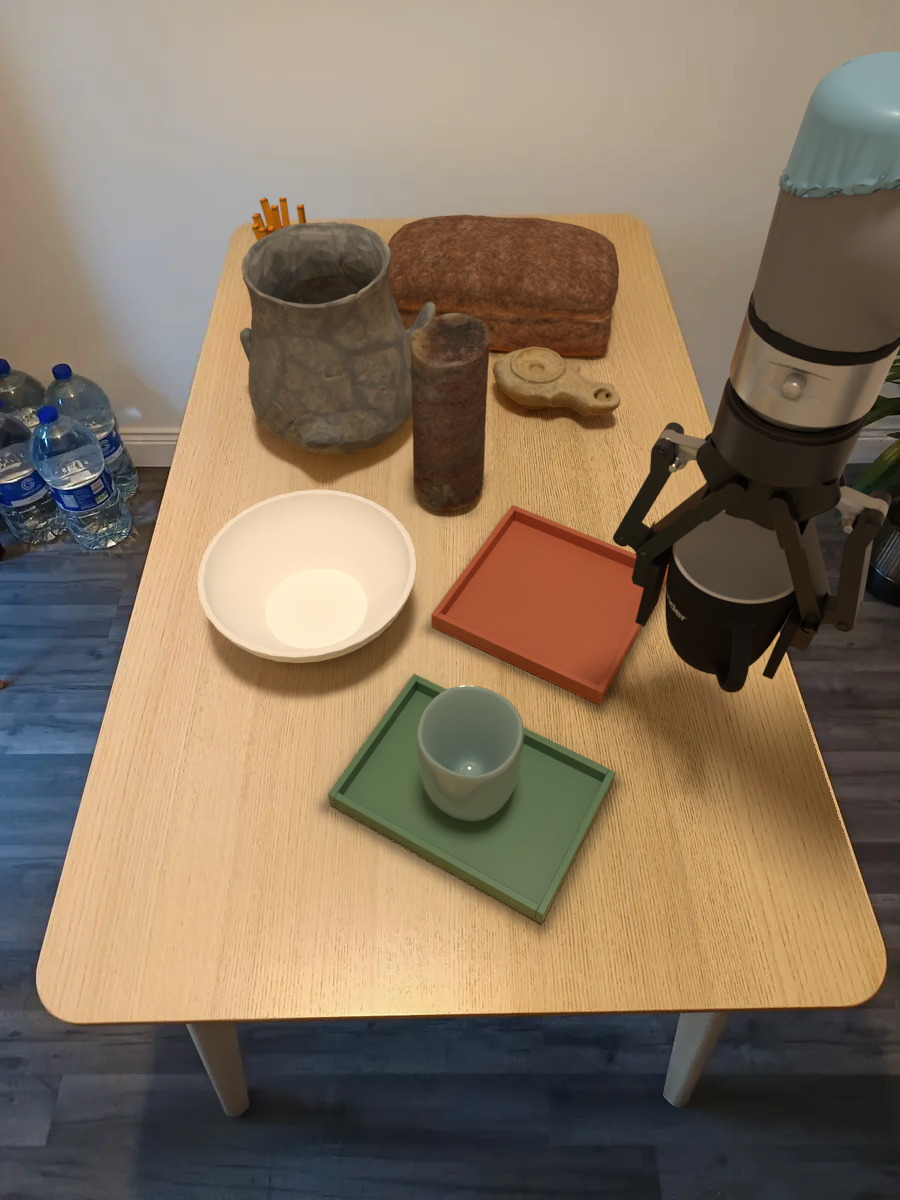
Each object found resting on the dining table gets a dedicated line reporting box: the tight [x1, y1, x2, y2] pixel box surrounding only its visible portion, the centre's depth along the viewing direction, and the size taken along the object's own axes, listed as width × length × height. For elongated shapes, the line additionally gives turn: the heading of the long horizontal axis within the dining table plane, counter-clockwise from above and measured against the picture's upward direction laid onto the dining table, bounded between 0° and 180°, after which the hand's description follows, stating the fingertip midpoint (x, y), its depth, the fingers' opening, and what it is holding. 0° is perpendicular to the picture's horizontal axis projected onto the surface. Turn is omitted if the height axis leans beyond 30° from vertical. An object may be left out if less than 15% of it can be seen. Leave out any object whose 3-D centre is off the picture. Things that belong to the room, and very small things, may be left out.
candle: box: [410, 313, 490, 512], centre depth 84 cm, size 8×7×20 cm
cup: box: [417, 685, 524, 822], centre depth 66 cm, size 8×8×10 cm
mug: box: [664, 510, 797, 694], centre depth 61 cm, size 12×9×10 cm
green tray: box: [327, 673, 616, 924], centre depth 70 cm, size 19×13×2 cm
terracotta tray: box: [430, 504, 668, 705], centre depth 82 cm, size 17×16×2 cm
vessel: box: [239, 221, 436, 456], centre depth 91 cm, size 22×22×20 cm
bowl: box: [196, 488, 417, 664], centre depth 80 cm, size 20×20×7 cm
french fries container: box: [251, 197, 307, 242], centre depth 106 cm, size 7×9×14 cm
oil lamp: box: [492, 347, 621, 417], centre depth 99 cm, size 11×14×5 cm
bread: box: [387, 214, 620, 357], centre depth 107 cm, size 17×29×11 cm, turn 82°
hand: (708, 637), depth 64 cm, fingers closed on mug, 9 cm apart
